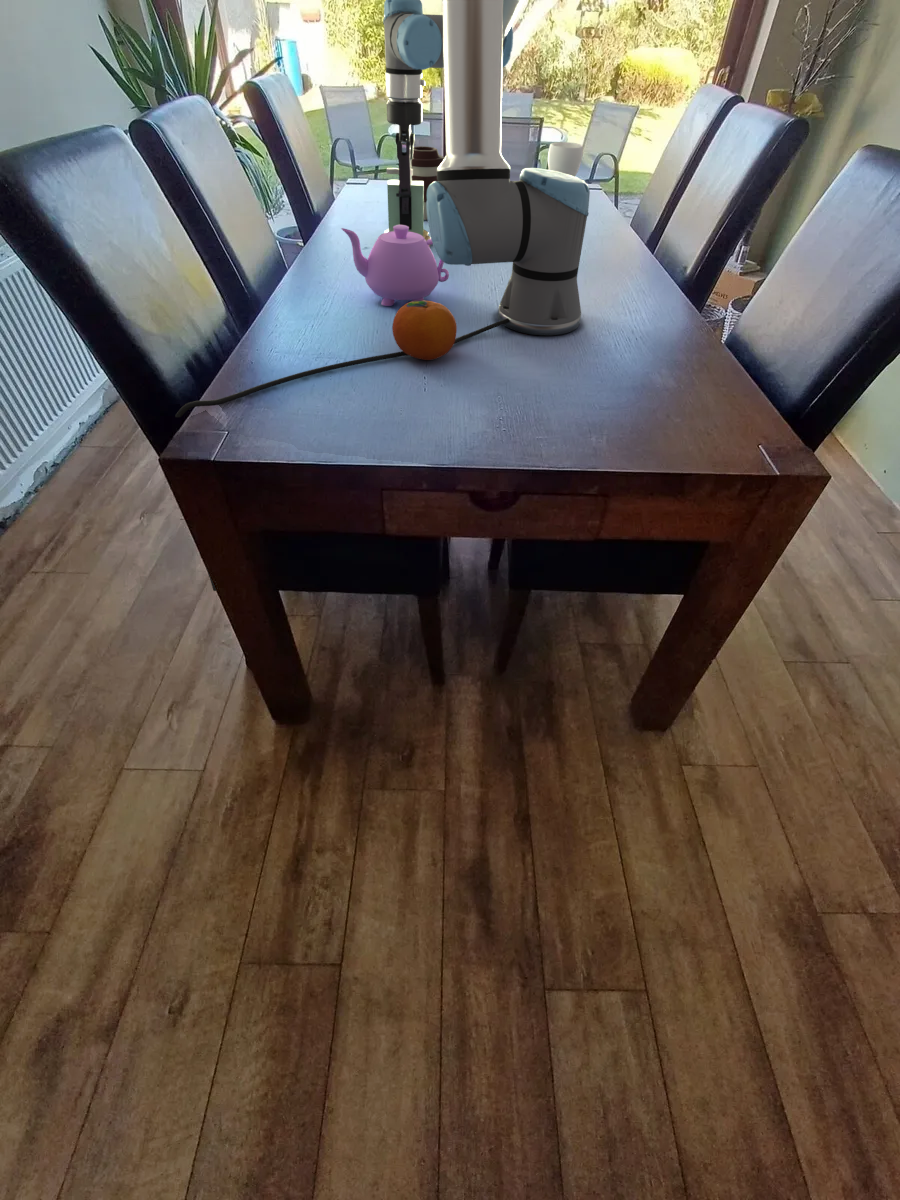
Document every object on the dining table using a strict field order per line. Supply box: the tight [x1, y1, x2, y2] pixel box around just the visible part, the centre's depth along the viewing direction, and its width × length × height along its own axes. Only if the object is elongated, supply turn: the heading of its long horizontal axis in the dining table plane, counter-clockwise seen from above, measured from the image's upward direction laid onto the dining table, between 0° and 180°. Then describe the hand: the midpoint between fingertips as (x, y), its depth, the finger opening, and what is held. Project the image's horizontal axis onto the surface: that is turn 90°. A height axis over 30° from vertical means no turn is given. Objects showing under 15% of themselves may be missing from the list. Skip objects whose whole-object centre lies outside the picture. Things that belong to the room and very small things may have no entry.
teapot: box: [340, 225, 450, 307], centre depth 119 cm, size 20×14×12 cm
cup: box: [547, 141, 584, 177], centre depth 167 cm, size 9×9×16 cm
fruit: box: [391, 299, 458, 361], centre depth 102 cm, size 11×10×8 cm
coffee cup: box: [412, 145, 444, 221], centre depth 162 cm, size 10×10×15 cm
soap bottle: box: [383, 167, 429, 240], centre depth 144 cm, size 10×10×13 cm
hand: (406, 225), depth 147 cm, fingers open, 6 cm apart
